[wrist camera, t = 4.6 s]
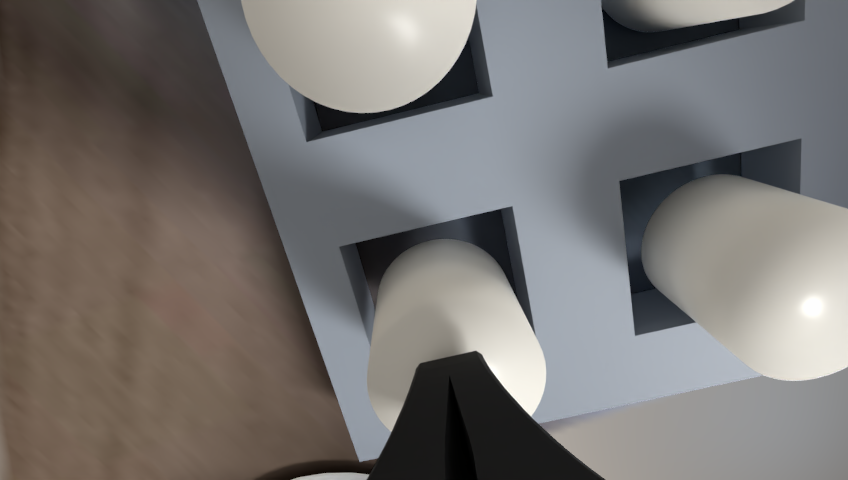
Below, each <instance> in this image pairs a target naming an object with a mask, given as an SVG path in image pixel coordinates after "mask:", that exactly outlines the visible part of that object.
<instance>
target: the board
mask: <svg viewBox="0 0 848 480" xmlns="http://www.w3.org/2000/svg"><path fill="white" fill-rule="evenodd" d="M197 2H198V5H199V8H200V10H201V13H202V16H203V19H204V22H205V25H206V27H207V30H208V33H209V36H210V39H211V42H212V44H213V47H214V50H215V53H216V56H217V59H218V61H219V64H220V67H221V70H222V73H223V76H224V79H225V81H226V84H227V87H228V90H229V93H230V96H231V98H232V101H233V104H234V107H235V110H236V113H237V115H238V118H239V121H240V124H241V127H242V130H243V132H244V135H245V138H246V141H247V144H248V147H249V149H250V152H251V155H252V158H253V161H254V164H255V167H256V169H257V172H258V175H259V178H260V181H261V184H262V186H263V189H264V192H265V195H266V198H267V201H268V203H269V206H270V209H271V212H272V215H273V218H274V220H275V223H276V226H277V229H278V232H279V235H280V237H281V240H282V243H283V246H284V249H285V252H286V254H287V257H288V260H289V263H290V266H291V269H292V272H293V274H294V277H295V280H296V283H297V286H298V289H299V291H300V294H301V297H302V300H303V303H304V306H305V308H306V311H307V314H308V317H309V320H310V323H311V325H312V328H313V331H314V334H315V337H316V340H317V342H318V345H319V348H320V351H321V354H322V357H323V360H324V362H325V365H326V368H327V371H328V374H329V377H330V379H331V382H332V385H333V388H334V391H335V394H336V396H337V399H338V402H339V405H340V408H341V411H342V413H343V416H344V419H345V422H346V425H347V428H348V430H349V433H350V436H351V439H352V442H353V445H354V448H355V450H356V453H357V456H358V459H359V462H362V461H367V460H371V459H376V458H379V456H380V454H381V452H382V450H383V448H384V446H385V444H386V442H387V440H388V438H389V436H390V434H391V431H390V430H389V429H387V428H386V427H385V426H384V424H383V423H382V422H381V421H380V419H379V418H378V416H377V415H376V413H375V411H374V409H373V407H372V405H371V402H370V399H369V395H368V391H367V370H368V362H369V355H370V347H371V339H372V332H373V324H374V317H375V307H374V303H373V300H372V297H371V293H370V290H369V287H368V283H367V280H366V277H365V273H364V270H363V267H362V263H361V260H360V257H359V253H358V250H357V247H356V243H357V242H361V241H365V240H370V239H374V238H378V237H383V236H387V235H391V234H395V233H400V232H404V231H408V230H412V229H417V228H421V227H425V226H429V225H434V224H438V223H442V222H447V221H451V220H455V219H459V218H464V217H468V216H472V215H476V214H481V213H485V212H489V211H493V210H498V209H501V213H502V218H503V224H504V229H505V234H506V240H507V245H508V250H509V255H510V261H511V266H512V271H513V277H514V282H515V287H516V293H517V298H518V302H519V304H520V306H521V308H522V310H523V312H524V314H525V316H526V318H527V320H528V322H529V324H530V326H531V328H532V330H533V332H534V334H535V336H536V338H537V340H538V342H539V344H540V347H541V349H542V351H543V355H544V359H545V363H546V383H545V388H544V392H543V395H542V398H541V401H540V403H539V405H538V407H537V408H536V410H535V412H534V413H533V414H532V416H531V417H532V418H533V419H534V420H535V421H536V422H537V423H538V424H539V423H544V422H548V421H553V420H558V419H562V418H567V417H572V416H576V415H581V414H586V413H590V412H595V411H600V410H604V409H609V408H614V407H618V406H623V405H628V404H632V403H637V402H642V401H646V400H651V399H656V398H660V397H665V396H670V395H674V394H679V393H683V392H688V391H693V390H697V389H702V388H707V387H711V386H716V385H721V384H725V383H730V382H734V381H739V380H744V379H749V378H753V377H758V376H762V374H760V373H758V372H756V371H754V370H753V369H751V368H750V367H748V366H747V365H746V364H745V363H743V362H742V361H741V360H740V359H739V358H738V357H736V356H735V355H734V354H733V353H732V352H730V351H729V350H728V349H727V348H726V347H725V346H723V345H722V344H721V343H720V342H719V341H718V340H716V339H715V338H714V337H713V336H712V335H710V334H709V333H708V332H707V331H706V330H705V329H703V328H702V327H701V326H700V325H699V324H698V323H696V322H695V321H694V320H693V319H692V318H690V317H689V316H688V315H687V314H686V313H685V312H683V311H682V310H681V309H680V308H679V307H678V306H676V305H675V304H674V303H673V302H672V301H670V300H669V299H668V298H667V297H666V296H665V295H663V294H662V293H661V292H660V291H659V290H658V289H657V288H656V289H652V290H647V291H643V292H638V293H634V294H631V292H630V283H629V273H628V263H627V253H626V243H625V233H624V223H623V213H622V204H621V194H620V184H619V181H621V180H626V179H630V178H634V177H639V176H643V175H647V174H651V173H656V172H660V171H664V170H668V169H673V168H677V167H681V166H685V165H690V164H694V163H698V162H703V161H707V160H711V159H715V158H720V157H724V156H728V155H732V154H737V153H741V165H742V177H744V178H747V179H751V180H754V181H757V182H761V183H764V184H767V185H771V186H774V187H777V188H781V189H784V190H787V191H790V192H794V193H797V194H800V195H804V196H807V197H810V198H814V199H817V200H820V201H824V202H827V203H830V204H834V205H837V206H840V207H844V208H847V209H848V0H794V1H792V2H791V3H789V4H787V5H785V6H783V7H780V8H778V9H776V10H773V11H770V12H767V13H763V14H757V15H752V16H746V17H740V18H739V30H735V31H731V32H727V33H723V34H719V35H715V36H711V37H707V38H703V39H699V40H694V41H690V42H686V43H682V44H678V45H674V46H670V47H666V48H662V49H658V50H654V51H650V52H645V53H641V54H637V55H633V56H629V57H625V58H621V59H617V60H613V61H609V62H607V55H606V46H605V36H604V26H603V16H602V6H601V0H477V1H476V10H475V15H474V19H473V23H472V28H471V31H470V33H469V36H468V37H469V43H470V48H471V53H472V59H473V64H474V69H475V75H476V80H477V85H478V90H479V93H478V94H474V95H470V96H466V97H462V98H458V99H454V100H450V101H446V102H441V103H437V104H433V105H429V106H425V107H421V108H417V109H413V110H409V111H405V112H401V113H397V114H392V115H388V116H384V117H380V118H376V119H372V120H368V121H364V122H360V123H356V124H352V125H348V126H344V127H339V128H335V129H331V130H327V131H323V132H322V129H321V126H320V123H319V119H318V116H317V113H316V109H315V106H314V103H313V100H311V99H309V98H307V97H305V96H304V95H302V94H301V93H299V92H298V91H296V90H295V89H294V88H292V87H291V86H290V85H289V84H288V83H287V82H285V81H284V80H283V79H282V78H281V77H280V76H279V75H278V74H277V73H276V72H275V70H274V69H273V68H272V67H271V66H270V65H269V63H268V62H267V60H266V59H265V57H264V56H263V55H262V53H261V52H260V50H259V48H258V46H257V44H256V42H255V41H254V39H253V37H252V35H251V32H250V29H249V27H248V24H247V22H246V19H245V15H244V11H243V7H242V4H241V0H197Z"/></svg>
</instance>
